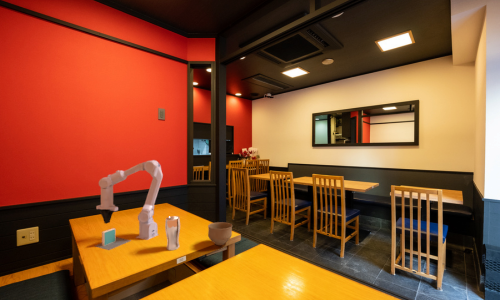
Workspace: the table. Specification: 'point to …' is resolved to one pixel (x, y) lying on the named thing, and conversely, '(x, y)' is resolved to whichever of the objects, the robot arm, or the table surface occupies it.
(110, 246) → the mat
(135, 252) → the table surface
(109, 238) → the block
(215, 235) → the bowl
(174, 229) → the beer glass
